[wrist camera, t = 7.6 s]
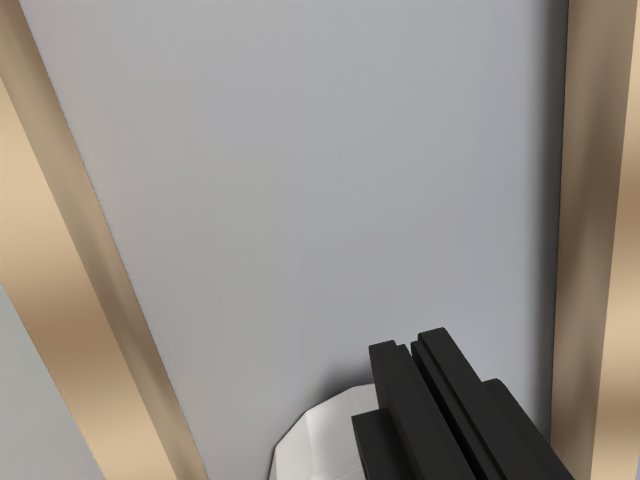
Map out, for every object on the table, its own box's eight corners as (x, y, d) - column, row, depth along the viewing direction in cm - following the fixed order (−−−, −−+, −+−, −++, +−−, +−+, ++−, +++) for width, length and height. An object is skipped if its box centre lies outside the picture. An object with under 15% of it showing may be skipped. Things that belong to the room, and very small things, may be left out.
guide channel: (583, 516, 18) (621, 570, 17) (219, 621, 17) (217, 690, 16) (697, -706, 7) (860, -960, 5) (-363, -615, 6) (-627, -899, 4)
